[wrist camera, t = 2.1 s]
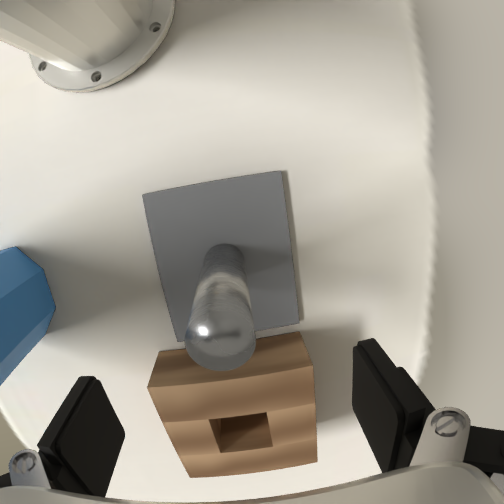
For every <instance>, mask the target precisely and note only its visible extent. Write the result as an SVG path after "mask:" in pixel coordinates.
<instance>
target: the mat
mask: <svg viewBox="0 0 504 504" xmlns="http://www.w3.org/2000/svg"><path fill="white" fill-rule="evenodd" d="M142 197H143V202H144V207H145V212H146V217H147V222H148V227H149V231H150V236H151V241H152V245H153V249H154V254H155V258H156V262H157V267H158V271H159V275H160V279H161V283H162V287H163V291H164V295H165V298H166V302H167V306H168V310H169V313H170V317H171V321H172V324H173V328H174V331H175V335H176V338H177V341H178V342H181V341H185V333H186V329H187V325H188V321H189V317H190V313H191V309H192V305H193V301H194V297H195V293H196V289H197V285H198V281H199V277H200V274H201V270H202V266H203V262H204V258H205V255H206V253H207V252H208V251H209V249H211V248H212V247H213V246H215V245H217V244H222V243H227V244H231V245H234V246H235V247H237V248H238V249H239V250H240V251H241V252H242V254H243V256H244V259H245V266H246V273H247V281H248V288H249V295H250V302H251V310H252V317H253V324H254V331H258V330H264V329H270V328H276V327H282V326H288V325H293V324H298V323H299V314H298V304H297V295H296V286H295V277H294V268H293V259H292V251H291V242H290V234H289V226H288V219H287V211H286V203H285V196H284V189H283V181H282V174H281V171H274V172H267V173H260V174H253V175H247V176H240V177H234V178H228V179H222V180H216V181H210V182H204V183H199V184H193V185H188V186H182V187H177V188H172V189H167V190H162V191H157V192H152V193H147V194H143V195H142Z"/></svg>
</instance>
